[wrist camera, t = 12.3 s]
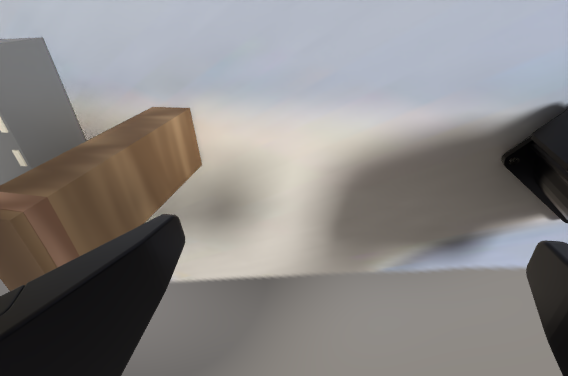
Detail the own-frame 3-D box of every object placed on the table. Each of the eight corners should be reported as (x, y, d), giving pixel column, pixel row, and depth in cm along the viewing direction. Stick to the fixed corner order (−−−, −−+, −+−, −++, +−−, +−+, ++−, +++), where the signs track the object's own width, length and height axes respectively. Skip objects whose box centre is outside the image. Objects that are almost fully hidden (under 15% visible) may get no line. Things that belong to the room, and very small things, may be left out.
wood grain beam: (189, 107, 21) (9, 220, 11) (202, 165, 24) (64, 303, 13) (151, 106, 22) (-53, 211, 11) (167, 162, 24) (10, 292, 14)
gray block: (42, 37, 21) (-37, 47, 17) (111, 201, 29) (67, 236, 25) (-11, 39, 23) (-98, 49, 18) (68, 196, 30) (19, 229, 26)
